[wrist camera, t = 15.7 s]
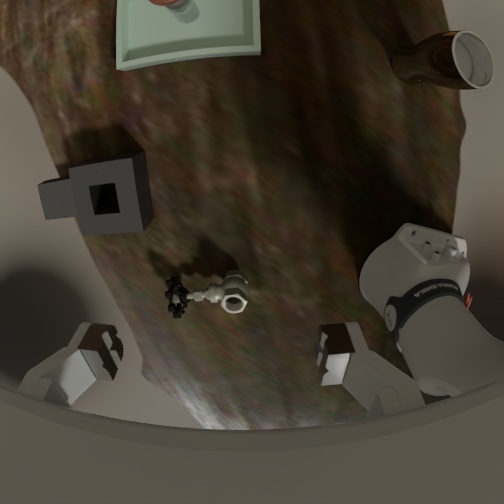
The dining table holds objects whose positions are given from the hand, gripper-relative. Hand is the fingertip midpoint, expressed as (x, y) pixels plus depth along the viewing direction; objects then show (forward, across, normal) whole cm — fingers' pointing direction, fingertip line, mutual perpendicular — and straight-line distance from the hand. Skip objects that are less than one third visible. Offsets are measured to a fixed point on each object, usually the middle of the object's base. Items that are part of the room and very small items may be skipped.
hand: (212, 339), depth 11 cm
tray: (+31, +6, -22) cm, 38 cm away
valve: (+31, +5, +18) cm, 37 cm away
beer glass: (+31, -24, -16) cm, 43 cm away
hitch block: (+31, +23, +2) cm, 38 cm away
